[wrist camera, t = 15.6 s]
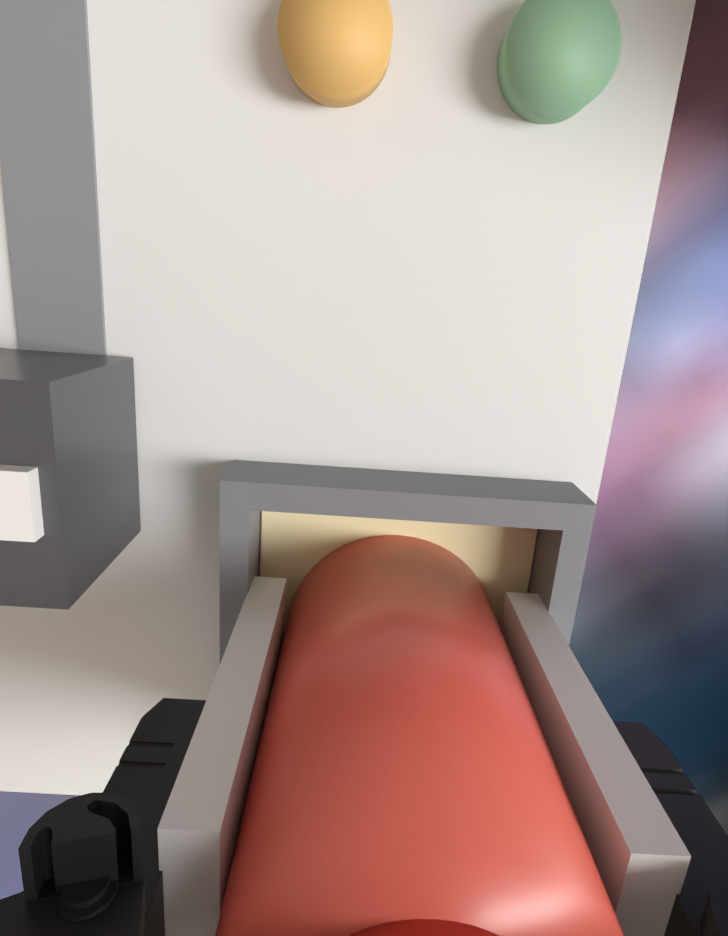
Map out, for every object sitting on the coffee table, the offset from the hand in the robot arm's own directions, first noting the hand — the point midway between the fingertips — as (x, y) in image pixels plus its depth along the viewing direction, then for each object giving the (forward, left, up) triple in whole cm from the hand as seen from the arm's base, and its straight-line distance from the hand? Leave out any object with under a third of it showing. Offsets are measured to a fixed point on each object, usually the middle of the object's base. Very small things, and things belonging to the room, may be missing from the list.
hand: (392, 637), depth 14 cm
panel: (-5, -5, -3) cm, 8 cm away
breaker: (-4, -8, -1) cm, 9 cm away
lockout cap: (0, 0, -1) cm, 1 cm away
